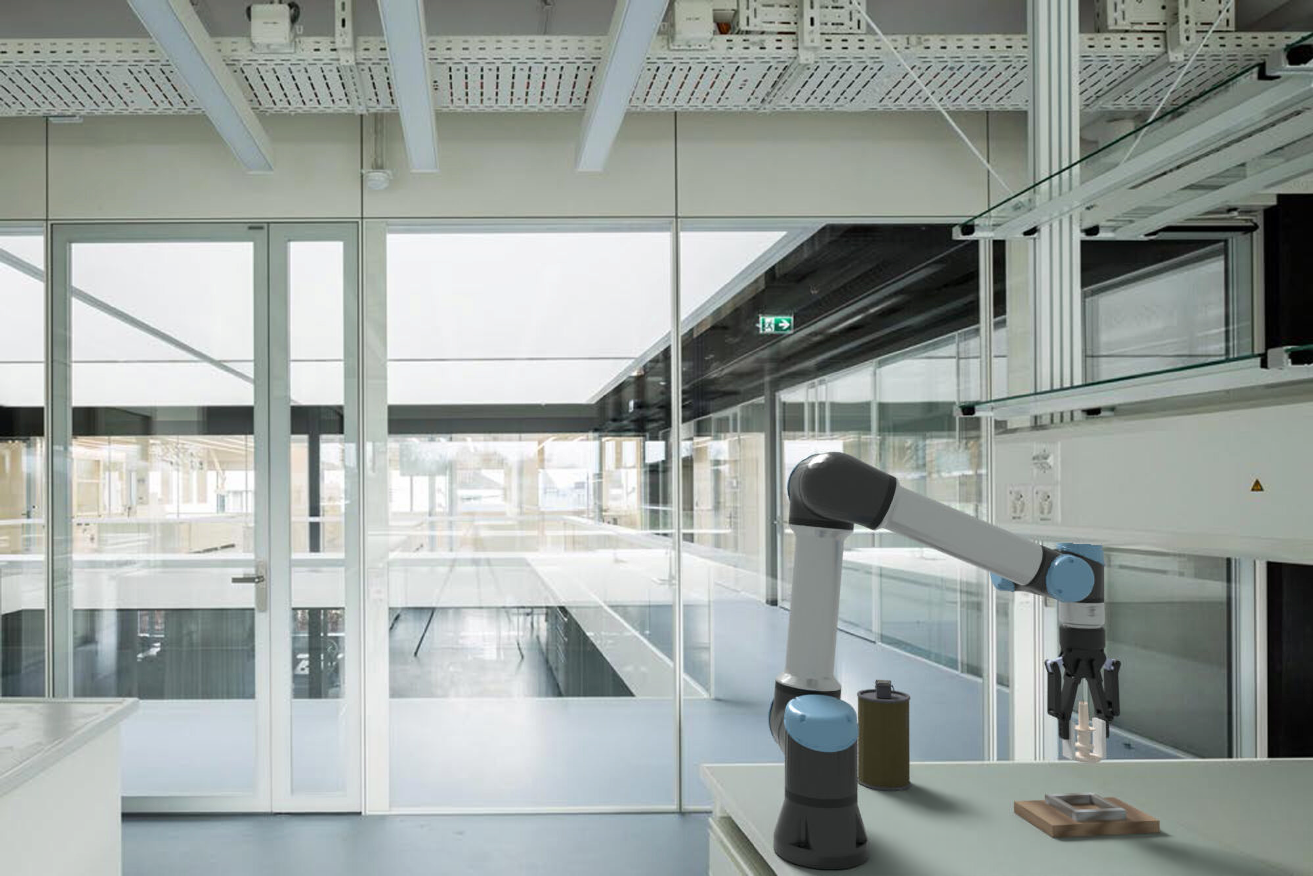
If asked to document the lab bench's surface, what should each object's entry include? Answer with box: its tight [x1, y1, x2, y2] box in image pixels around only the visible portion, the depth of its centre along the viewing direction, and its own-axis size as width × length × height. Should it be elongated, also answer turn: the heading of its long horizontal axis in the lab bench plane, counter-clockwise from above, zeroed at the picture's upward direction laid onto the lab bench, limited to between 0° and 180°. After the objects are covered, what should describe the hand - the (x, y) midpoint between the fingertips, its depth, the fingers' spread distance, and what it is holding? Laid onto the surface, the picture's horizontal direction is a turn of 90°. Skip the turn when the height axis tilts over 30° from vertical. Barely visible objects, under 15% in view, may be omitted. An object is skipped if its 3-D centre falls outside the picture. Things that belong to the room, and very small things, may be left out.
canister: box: [856, 679, 912, 792], centre depth 181 cm, size 11×10×20 cm
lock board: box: [1013, 791, 1161, 838], centre depth 160 cm, size 20×12×4 cm, turn 98°
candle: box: [1074, 699, 1102, 764], centre depth 161 cm, size 5×5×10 cm
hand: (1084, 756), depth 160 cm, fingers closed on candle, 5 cm apart
